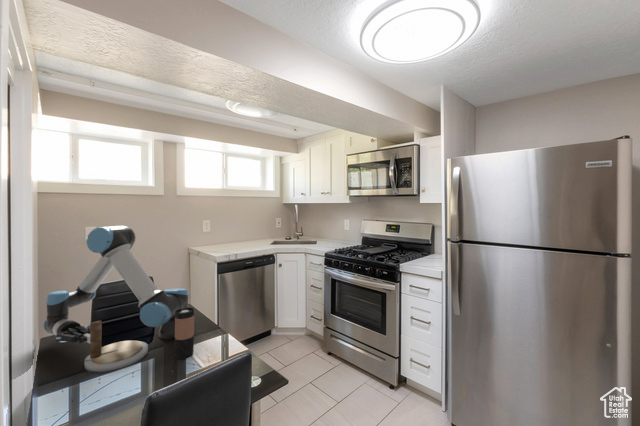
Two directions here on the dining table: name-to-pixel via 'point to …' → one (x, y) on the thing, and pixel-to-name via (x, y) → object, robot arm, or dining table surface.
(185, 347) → the travel mug
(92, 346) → the dial
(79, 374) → the dining table surface
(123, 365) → the base
